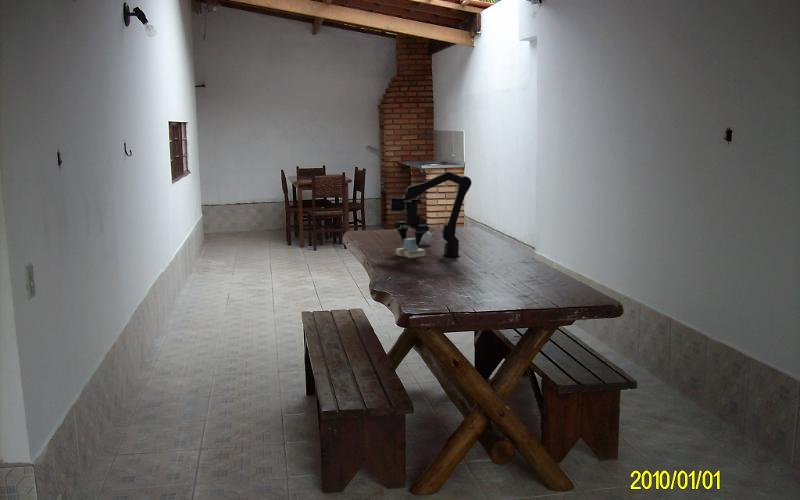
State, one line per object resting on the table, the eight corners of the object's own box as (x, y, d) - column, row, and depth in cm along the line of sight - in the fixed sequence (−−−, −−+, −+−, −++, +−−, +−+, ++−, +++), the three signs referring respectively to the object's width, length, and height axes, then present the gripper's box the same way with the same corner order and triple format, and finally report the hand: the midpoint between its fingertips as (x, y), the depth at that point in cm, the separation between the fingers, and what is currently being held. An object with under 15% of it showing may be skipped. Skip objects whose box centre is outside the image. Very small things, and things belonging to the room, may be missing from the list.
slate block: (418, 249, 351) (418, 239, 350) (410, 250, 348) (411, 240, 347) (411, 248, 355) (411, 237, 354) (403, 249, 351) (403, 238, 350)
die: (427, 248, 378) (436, 232, 380) (413, 239, 377) (422, 223, 380) (424, 251, 386) (432, 235, 389) (409, 242, 385) (418, 226, 388)
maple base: (425, 255, 352) (425, 249, 351) (410, 258, 345) (410, 251, 344) (410, 252, 359) (411, 246, 358) (396, 254, 352) (396, 248, 351)
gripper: (437, 213, 347) (436, 245, 350) (410, 209, 360) (409, 240, 363) (421, 214, 339) (419, 247, 342) (394, 210, 353) (393, 242, 355)
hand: (411, 244), depth 351 cm, fingers open, 9 cm apart
